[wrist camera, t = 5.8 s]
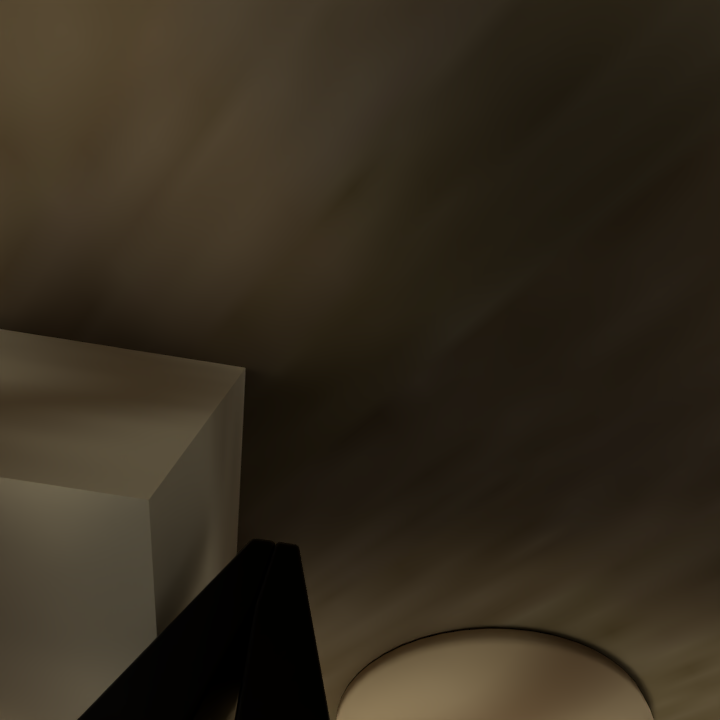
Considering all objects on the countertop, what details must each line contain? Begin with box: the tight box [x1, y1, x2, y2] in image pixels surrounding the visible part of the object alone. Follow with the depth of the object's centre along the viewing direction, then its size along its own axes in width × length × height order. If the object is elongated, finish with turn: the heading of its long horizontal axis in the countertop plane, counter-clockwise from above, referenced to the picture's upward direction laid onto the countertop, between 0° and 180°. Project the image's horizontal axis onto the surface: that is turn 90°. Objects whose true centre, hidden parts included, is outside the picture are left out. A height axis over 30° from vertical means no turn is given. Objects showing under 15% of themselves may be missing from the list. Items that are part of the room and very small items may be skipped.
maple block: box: [0, 329, 246, 720], centre depth 8 cm, size 6×6×4 cm
